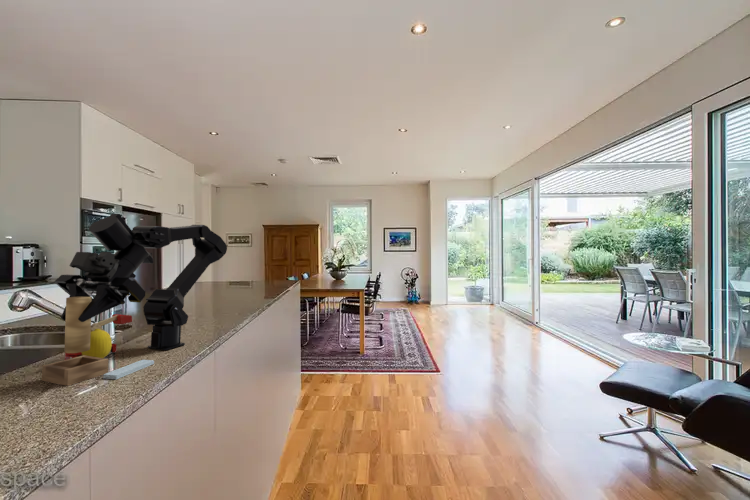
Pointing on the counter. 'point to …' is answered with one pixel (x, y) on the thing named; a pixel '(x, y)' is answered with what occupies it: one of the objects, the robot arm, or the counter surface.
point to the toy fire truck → (115, 319)
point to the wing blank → (128, 369)
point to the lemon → (99, 344)
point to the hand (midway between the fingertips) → (71, 320)
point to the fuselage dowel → (77, 325)
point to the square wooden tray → (74, 370)
